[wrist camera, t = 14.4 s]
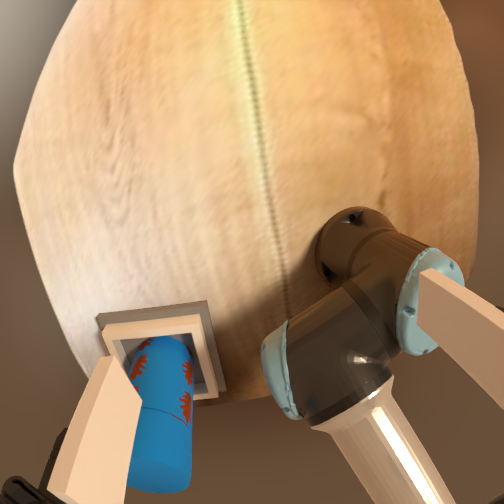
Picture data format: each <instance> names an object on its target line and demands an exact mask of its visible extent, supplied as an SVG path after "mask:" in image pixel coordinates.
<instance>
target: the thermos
mask: <svg viewBox="0 0 504 504" xmlns="http://www.w3.org/2000/svg"><path fill="white" fill-rule="evenodd" d="M128 379H129V380H130V382H131V384H132V385H133V387H134V388H135V390H136V392H137V393H138V395H139V396H140V398H141V399H142V405H141V409H140V414H139V419H138V423H137V428H136V433H135V438H134V443H133V448H132V453H131V459H130V465H129V470H128V476H127V483H126V485H128V486H130V487H133V488H136V489H139V490H143V491H148V492H154V493H174V492H179V491H182V490H183V489H185V488H187V487H188V485H189V483H190V478H191V472H192V417H193V390H194V360H193V355H192V353H191V351H190V350H189V348H188V347H187V346H186V345H185V344H184V343H182V342H181V341H180V340H177V339H175V338H172V337H170V336H156V337H149V338H148V339H146V340H145V341H143V342H142V343H141V345H140V346H139V348H138V350H137V352H136V355H135V357H134V359H133V362H132V365H131V368H130V371H129V374H128Z"/></svg>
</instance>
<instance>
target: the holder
mask: <svg viewBox="0 0 504 504" xmlns="http://www.w3.org/2000/svg"><path fill="white" fill-rule="evenodd" d="M97 320H98V323H99V325H100V328H101V330H102V333H101V334H102V336H103V339H104V341H105V343H106V346H107V348H108V351H109V353H110V355H111V356H112V355H115V357H116V358H117V360H118V362H119V364H120V365H121V367H122V369H123V371H124V372H125V374H126V376H127V377H128V374H129V371H130V368H131V365H132V362H133V359H134V357H135V355H136V352H137V350H138V348H139V346H140V345H141V343H142V342H143V341H145V340H146V339H148V338H149V337H156V336H170V337H172V338H175V339H177V340H180V341H181V342H182V343H184V344H185V345H186V346H187V347H188V348H189V350H190V351H191V353H192V355H193V360H194V390H193V400H200V399H210V398H218V392H223V391H227V388H226V383H225V379H224V374H223V370H222V366H221V362H220V358H219V353H218V349H217V345H216V340H215V336H214V331H213V327H212V322H211V317H210V313H209V308H208V303H207V300H206V301H198V302H191V303H184V304H176V305H169V306H161V307H153V308H144V309H136V310H127V311H118V312H108V313H99V315H98V316H97Z"/></svg>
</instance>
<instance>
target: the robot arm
mask: <svg viewBox="0 0 504 504" xmlns="http://www.w3.org/2000/svg"><path fill="white" fill-rule="evenodd" d="M315 257H316V265H317V268H318V271H319V273H320V275H321V276H322V278H323V279H324V280H325V281H326V282H327V284H328V285H329V286H330V287H332V288H333V289H334V290H333V291H331V292H330V293H328V294H327V295H326V296H324V297H323V298H321V299H320V300H318V301H317V302H315V303H314V304H313V305H311V306H310V307H308V308H307V309H305V310H304V311H302V312H301V313H299V314H298V315H296V316H295V317H293V318H292V319H290V318H289V319H287V320H286V321H285V322H284V324H283V325H281V326H280V327H279V328H277V329H276V330H274V331H273V332H272V333H270V334H269V335H268V336H266V338H265V339H264V340H263V342H262V345H261V363H262V368H263V372H264V375H265V378H266V381H267V384H268V386H269V389H270V391H271V393H272V395H273V397H274V399H275V401H276V402H277V404H278V405H279V407H281V408H282V409H283V412H284V413H285V415H286V416H287V417H289V418H291V419H293V420H297V419H299V420H301V419H302V418H304V417H305V418H306V420H307V422H308V423H309V425H310V426H311V428H312V429H315V430H320V431H325V432H328V433H330V434H331V436H332V438H333V439H334V441H335V442H336V444H337V446H338V447H339V449H340V450H341V452H342V453H343V455H344V457H345V458H346V460H347V461H348V463H349V464H350V466H351V468H352V469H353V470H354V472H355V474H356V475H357V477H358V478H359V480H360V481H361V483H362V485H363V486H364V487H365V489H366V491H367V492H368V494H369V495H370V497H371V498H372V500H373V501H374V503H375V504H456V503H455V501H454V499H453V498H452V496H451V494H450V492H449V491H448V489H447V487H446V485H445V483H444V482H443V480H442V478H441V476H440V475H439V473H438V471H437V470H436V468H435V466H434V464H433V463H432V461H431V459H430V457H429V456H428V454H427V452H426V451H425V449H424V447H423V446H422V444H421V442H420V441H419V439H418V437H417V436H416V434H415V432H414V431H413V429H412V428H411V426H410V424H409V423H408V421H407V419H406V418H405V416H404V415H403V413H402V411H401V410H400V408H399V407H398V405H397V403H396V402H395V400H394V399H393V397H392V395H391V388H392V384H393V380H394V375H393V374H392V372H391V371H390V369H389V368H388V366H387V363H388V362H389V361H391V360H392V359H393V358H395V357H396V356H397V355H398V354H400V353H401V352H403V351H405V352H406V353H408V354H411V355H415V356H418V355H421V354H422V353H423V354H427V353H429V352H431V351H432V350H434V349H435V348H436V347H438V346H440V347H441V348H442V349H443V350H444V351H445V352H447V353H448V354H449V355H450V356H451V357H452V358H453V359H454V360H455V361H456V362H457V363H458V364H459V365H460V366H461V367H462V368H463V369H464V370H465V371H466V372H467V373H468V374H469V375H470V376H471V377H472V378H473V379H474V380H475V381H476V382H477V383H478V384H479V385H480V386H481V387H482V388H483V389H484V390H485V391H486V392H487V393H488V394H489V395H490V396H491V397H492V398H493V399H494V400H495V401H496V402H497V403H498V405H499V406H500V407H501V408H502V409H503V410H504V308H501V307H498V306H495V307H494V306H493V305H491V304H490V303H488V302H487V301H485V300H484V299H482V298H481V297H479V296H478V295H476V294H474V293H473V292H471V291H469V290H468V289H466V288H465V287H464V278H463V275H462V272H461V270H460V268H459V266H458V265H457V263H456V262H455V261H453V260H452V259H451V258H449V257H448V256H446V255H445V254H443V253H442V252H441V251H440V250H439V249H437V248H434V247H433V248H432V247H430V246H428V245H426V244H424V243H421V242H419V241H417V240H415V239H413V238H410V237H408V236H406V235H404V234H401V233H399V232H398V231H397V230H396V229H395V227H394V226H393V225H392V223H391V222H390V221H389V219H388V218H387V217H385V216H384V215H383V214H381V213H380V212H378V211H376V210H373V209H370V208H367V207H351V208H348V209H345V210H343V211H341V212H339V213H338V214H336V215H335V216H334V217H332V218H331V219H330V220H329V221H328V223H327V224H326V225H325V226H324V228H323V230H322V231H321V233H320V236H319V238H318V241H317V245H316V253H315ZM141 405H142V399H141V398H140V396H139V395H138V393H137V392H136V390H135V388H134V387H133V385H132V384H131V382H130V380H129V379H128V377H127V376H126V374H125V372H124V371H123V369H122V367H121V365H120V364H119V362H118V360H117V358H116V357H115V355H112V356H106V357H100V358H99V360H98V362H97V364H96V367H95V369H94V371H93V373H92V375H91V377H90V379H89V382H88V384H87V386H86V388H85V390H84V392H83V395H82V397H81V399H80V402H79V404H78V406H77V409H76V411H75V413H74V416H73V418H72V420H71V423H70V426H69V428H64V430H63V431H62V432H61V433H60V435H59V436H58V437H57V439H56V441H55V444H54V446H53V450H52V452H51V454H50V459H49V460H48V462H47V465H46V468H45V470H44V474H43V476H42V479H41V482H40V485H39V488H38V490H37V489H36V488H35V487H33V486H32V485H31V484H29V483H28V482H27V481H26V480H25V479H23V478H22V477H21V476H13V477H10V478H9V479H8V480H6V482H5V483H4V485H3V487H2V491H1V492H2V494H0V504H123V503H124V496H125V489H126V483H127V476H128V470H129V465H130V459H131V453H132V448H133V443H134V438H135V433H136V428H137V423H138V419H139V414H140V409H141ZM486 504H504V492H503V493H501V494H499V495H497V496H496V497H494V498H493V499H491V500H490V501H488V502H487V503H486Z"/></svg>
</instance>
